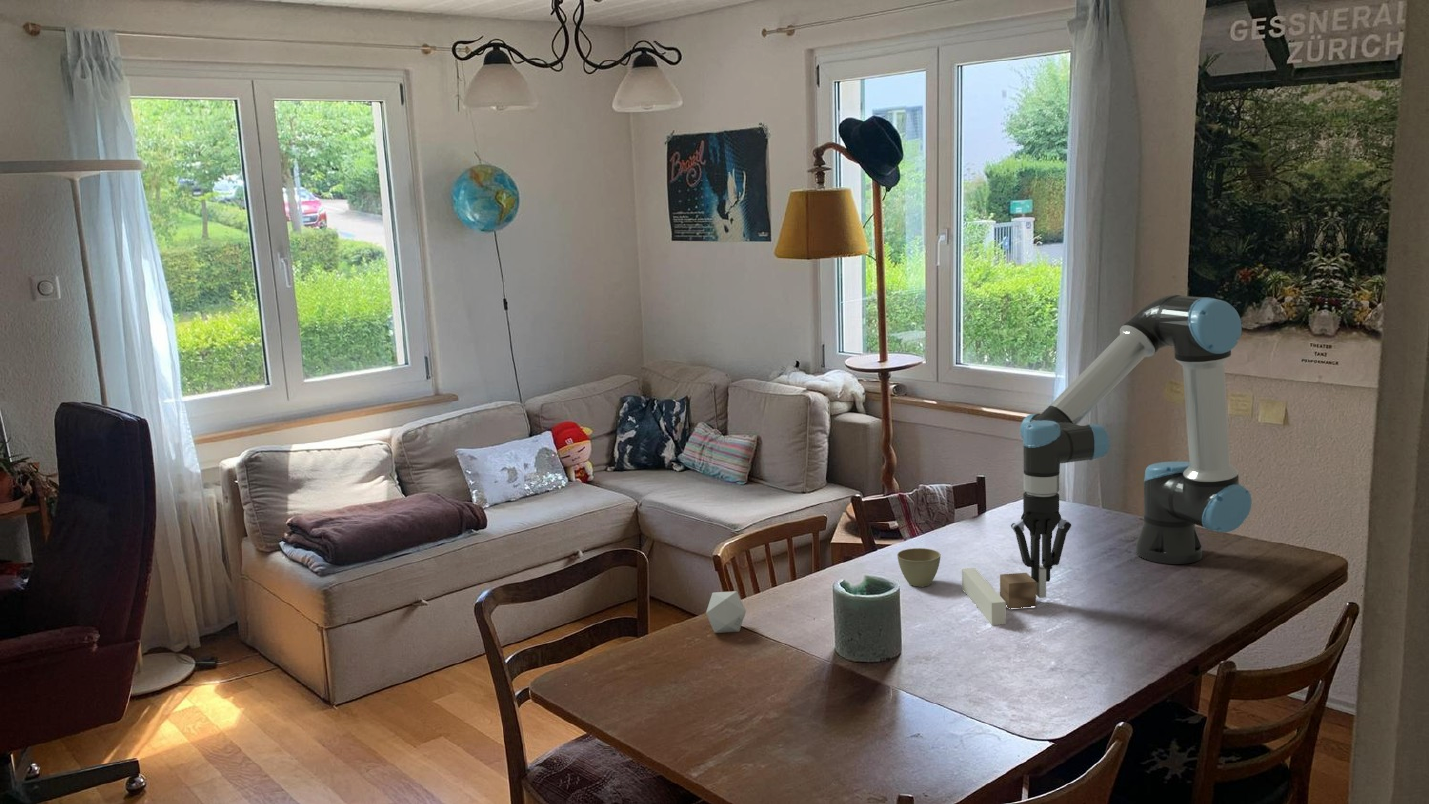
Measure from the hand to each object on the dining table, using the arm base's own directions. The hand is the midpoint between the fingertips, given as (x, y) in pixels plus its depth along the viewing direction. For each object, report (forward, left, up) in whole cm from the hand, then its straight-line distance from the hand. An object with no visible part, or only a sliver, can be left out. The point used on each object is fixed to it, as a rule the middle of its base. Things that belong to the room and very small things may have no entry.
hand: (1040, 595), depth 243 cm
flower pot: (+23, -17, -2) cm, 29 cm away
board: (+13, 0, -2) cm, 13 cm away
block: (+5, 0, -2) cm, 5 cm away
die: (+70, +3, -2) cm, 70 cm away
